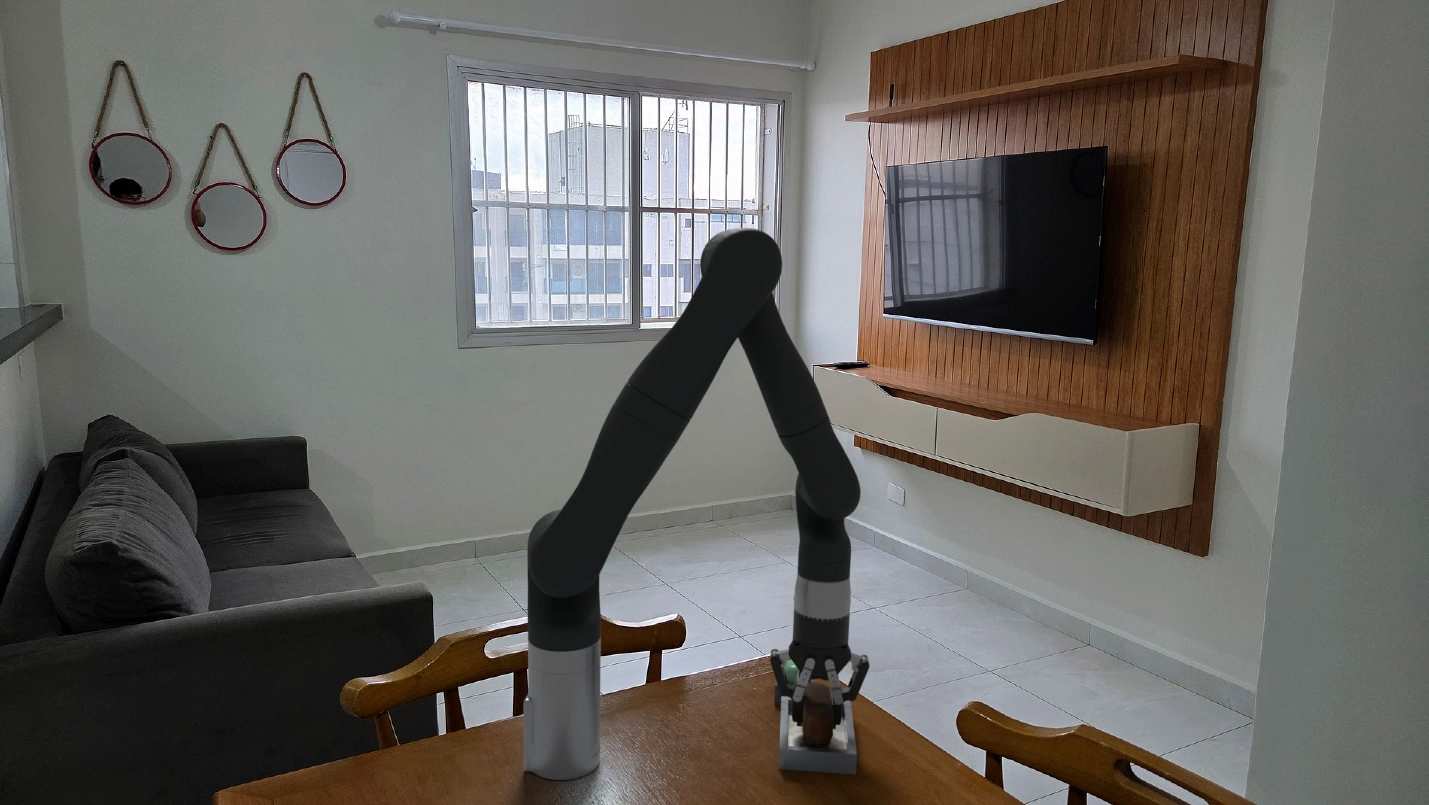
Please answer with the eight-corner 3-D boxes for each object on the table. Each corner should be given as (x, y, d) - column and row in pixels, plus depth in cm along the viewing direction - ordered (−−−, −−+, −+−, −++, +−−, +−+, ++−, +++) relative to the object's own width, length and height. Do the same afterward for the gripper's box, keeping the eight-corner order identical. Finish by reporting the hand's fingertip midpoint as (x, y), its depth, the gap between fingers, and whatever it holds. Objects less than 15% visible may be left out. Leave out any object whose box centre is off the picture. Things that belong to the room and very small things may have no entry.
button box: (774, 704, 141) (775, 685, 141) (775, 686, 147) (776, 668, 146) (814, 706, 141) (815, 687, 140) (813, 688, 146) (814, 670, 146)
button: (781, 685, 142) (782, 670, 141) (782, 674, 145) (782, 658, 145) (808, 687, 141) (809, 671, 141) (808, 675, 145) (808, 660, 145)
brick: (833, 748, 125) (834, 714, 124) (802, 746, 125) (804, 713, 124) (827, 710, 135) (829, 679, 134) (800, 708, 135) (801, 677, 135)
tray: (778, 769, 123) (779, 749, 123) (780, 714, 138) (781, 696, 138) (855, 774, 122) (857, 754, 122) (849, 718, 137) (850, 700, 137)
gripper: (768, 613, 124) (763, 735, 127) (877, 620, 123) (870, 742, 126) (769, 593, 131) (765, 708, 134) (873, 599, 130) (866, 715, 133)
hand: (816, 724), depth 130 cm, fingers closed on brick, 4 cm apart
